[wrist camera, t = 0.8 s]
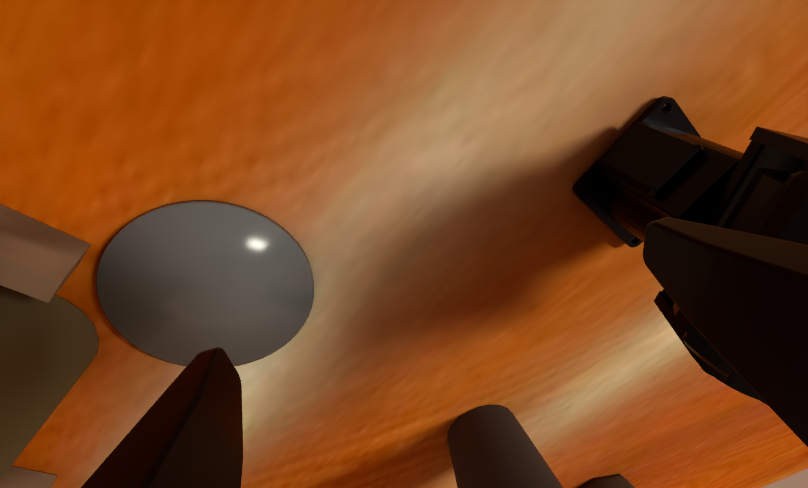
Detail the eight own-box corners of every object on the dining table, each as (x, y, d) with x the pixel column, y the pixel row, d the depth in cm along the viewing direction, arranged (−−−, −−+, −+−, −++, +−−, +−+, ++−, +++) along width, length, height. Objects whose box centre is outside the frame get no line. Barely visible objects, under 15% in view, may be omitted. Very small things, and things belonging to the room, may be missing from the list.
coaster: (351, 265, 23) (352, 269, 23) (249, 385, 26) (248, 390, 26) (164, 157, 19) (161, 160, 18) (62, 317, 21) (58, 322, 21)
